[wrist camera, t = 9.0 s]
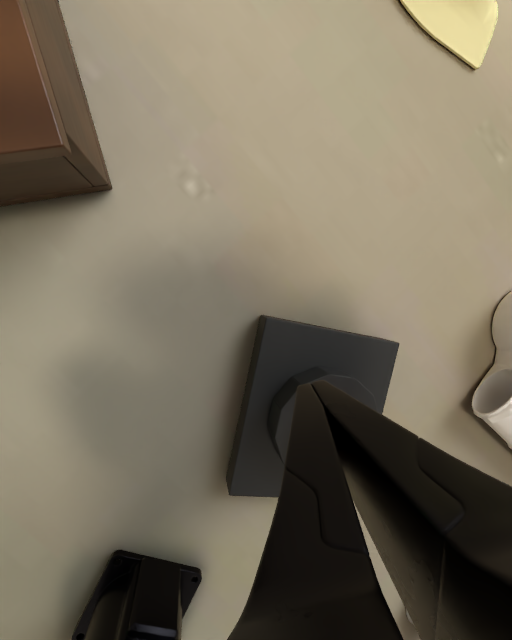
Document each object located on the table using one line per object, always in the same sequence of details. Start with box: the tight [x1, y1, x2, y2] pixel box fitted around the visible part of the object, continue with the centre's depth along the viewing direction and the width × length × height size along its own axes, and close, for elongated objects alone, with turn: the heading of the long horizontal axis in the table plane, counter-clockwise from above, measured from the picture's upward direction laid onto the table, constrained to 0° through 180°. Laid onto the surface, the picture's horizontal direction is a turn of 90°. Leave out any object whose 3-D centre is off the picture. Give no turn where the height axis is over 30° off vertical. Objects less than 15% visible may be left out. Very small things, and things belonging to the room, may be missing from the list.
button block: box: [226, 315, 399, 497], centre depth 19 cm, size 12×10×4 cm
